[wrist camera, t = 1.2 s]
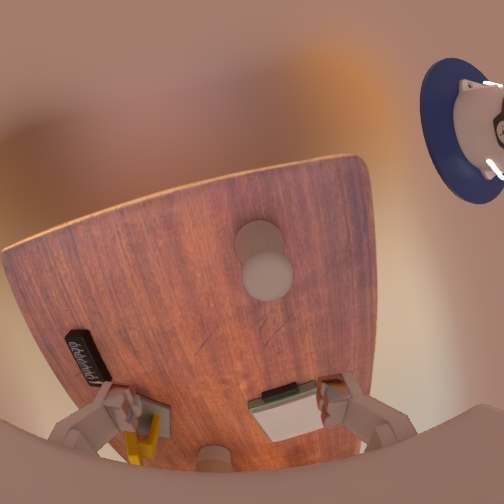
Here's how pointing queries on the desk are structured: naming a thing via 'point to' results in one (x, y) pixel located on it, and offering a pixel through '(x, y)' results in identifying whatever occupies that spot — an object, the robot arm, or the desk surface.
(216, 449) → the coffee cup
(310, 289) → the desk surface
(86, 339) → the multiport hub
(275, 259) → the salt shaker
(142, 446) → the toy computer monitor
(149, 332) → the desk surface
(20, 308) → the desk surface
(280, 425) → the scale
